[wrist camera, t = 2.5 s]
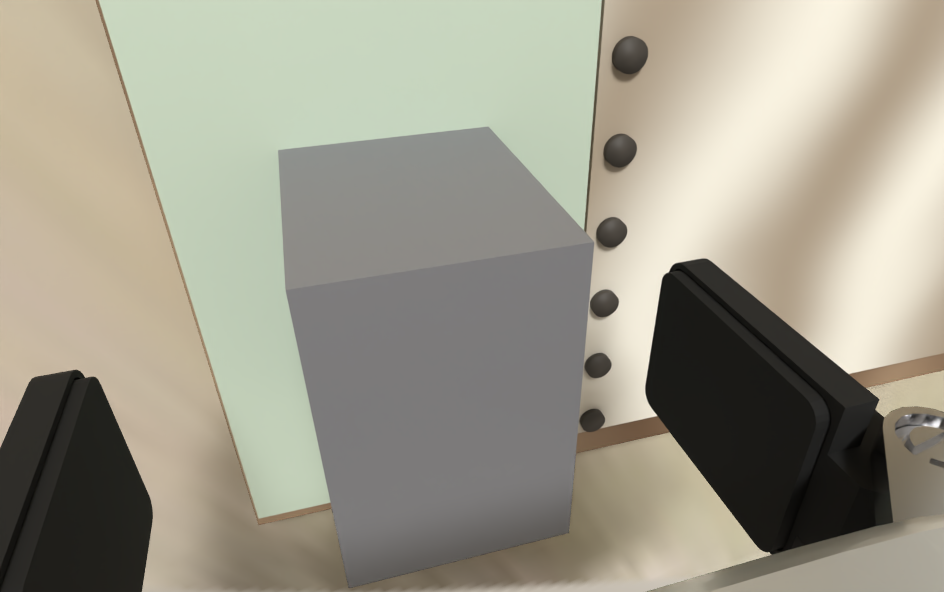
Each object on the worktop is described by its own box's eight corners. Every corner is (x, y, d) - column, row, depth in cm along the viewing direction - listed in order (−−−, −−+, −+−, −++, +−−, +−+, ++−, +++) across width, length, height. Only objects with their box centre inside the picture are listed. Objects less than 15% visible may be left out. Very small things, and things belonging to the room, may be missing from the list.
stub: (589, -88, 12) (803, -68, 7) (556, 429, 19) (654, 612, 14) (90, -67, 10) (-58, -21, 5) (258, 494, 17) (256, 726, 13)
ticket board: (1129, -186, 16) (1271, -197, 14) (909, 335, 25) (975, 381, 23) (71, -175, 11) (21, -189, 9) (259, 472, 20) (258, 548, 18)
